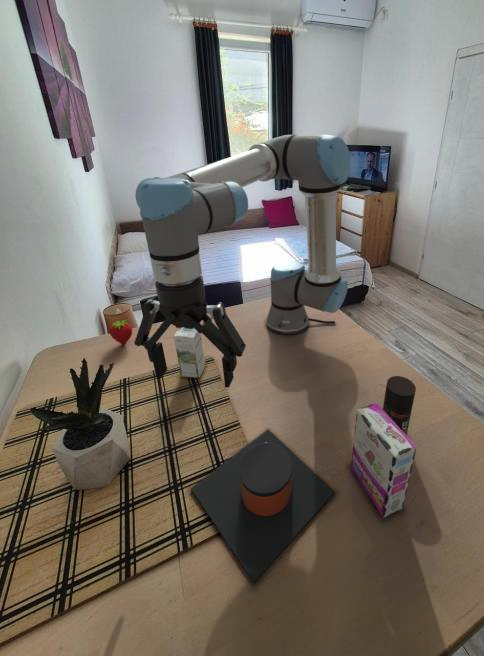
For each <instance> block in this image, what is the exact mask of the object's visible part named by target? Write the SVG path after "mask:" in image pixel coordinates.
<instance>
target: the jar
mask: <svg viewBox="0 0 484 656" xmlns="http://www.w3.org/2000/svg"><path fill="white" fill-rule="evenodd" d="M239 475H240V487H241V496H242V500H243V502H244V504H245V506H246V507H247V508H248V509H249V510H250V511H251V512H253V513H254V514H257V515H260V516H270V515H274V514H276V513H278V512H280V511H281V510H282V509H283V508H284V507H285V506H286V505H287V504H288V502H289V500H290V497H291V494H292V461H291V458H290V456H289V454H288V453H287V451H286V450H285V449H284V448H282V447H281V446H279V445H276V444H273V443H262V444H258V445H255V446H253V447H252V448H250V449H249V450H248V451H247V452H246V453H245V454H244V456H243V457H242V459H241V462H240V466H239Z"/></svg>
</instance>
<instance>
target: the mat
mask: <svg viewBox="0 0 484 656" xmlns="http://www.w3.org/2000/svg"><path fill="white" fill-rule="evenodd" d="M262 443H273V444H276V445H279V446H281V447H282V448H284V449H285V450H286V451H287V453H288V454H289V456H290V458H291V461H292V494H291V497H290V500H289V502H288V504H287V505H286V506H285V507H284V508H283V509H282V510H281V511H280V512H278V513H276V514H274V515H270V516H260V515H257V514H254V513H253V512H251V511H250V510H249V509H248V508H247V507H246V506H245V504H244V502H243V500H242V496H241V487H240V475H239V466H240V462H241V459H242V457H243V456H244V454H245V453H246V452H247V451H248V450H249V449H250V448H252V447H253V446H255V445H258V444H262ZM190 491H191V492H192V494H193V495H194V497H195V498H196V500H197V501H198V503H199V504H200V506H201V508H203V510H204V512H205V513H206V515H207V516H208V518H209V519H210V521H211V522H212V524H213V525H214V527H215V528H216V529H217V531H218V532H219V534H220V536H221V537H222V538H223V540H224V541H225V543H226V545H227V546H228V547H229V549H230V551H231V552H232V554H233V555H234V556H235V558H236V560H237V561H238V563H239V564H240V565H241V567H242V568H243V570H244V571H245V573H246V574H247V576H248V577H249V579H250V580H251V582H252V583H253V584H254V585H255V584H256V583H257V582H258V580H259V579H260V578H261V577H262V576H263V575H264V574H265V573H266V571H267V570H268V569H269V568H270V567H271V566H272V565H273V564H274V562H275V561H276V560H277V559H278V558H279V557H280V556H281V555H282V553H283V552H284V551H285V550H286V549H287V548H288V547H289V545H291V544H292V542H293V541H294V540H295V539H296V538H297V536H298V535H299V534H301V532H302V531H303V530H304V529H305V528H306V527H307V526H308V524H309V523H310V522H311V521H312V520H313V519H314V518H315V516H316V515H317V514H318V513H319V512H320V511H321V510H322V509H323V507H325V505H326V504H327V503H328V502H329V500H330V499H332V497H333V496H334V495H335V494H336V493H335V490H334V489H333V488H332V487H330V486H329V485H328V483H326V482H325V481H324V480H323V479H322V478H321V477H320V476H318V474H317V473H315V471H313V469H311V468H310V467H309V466H308V465H307V464H306V463H305V462H304V461H303V460H301V458H299V457H298V455H297V454H295V453H294V452H293V450H291V449H290V448H289V447H288V446H286V444H285V443H283V442H282V441H281V440H280V439H279V438H278V437H277V436H276V435H275V434H274V433H273V432H272V431H271V430H270V429H266V430H265V431H264V432H263V433H261V434H260V435H259V436H257V437H256V438H254V439H253V440H252V441H251V442H250V443H248V444H247V445H246V446H244V447H243V448H242V449H240V450H239V451H238V452H237V453H235V454H234V455H233V456H231V457H229V458H228V459H227V460H226V461H225V462H223V463H222V464H221V465H219V466H218V467H217V468H215V469H214V470H213V471H212V472H211V473H209V474H208V475H207V476H205V477H204V478H203V479H201V480H200V481H198V482H197V483H196V484H194V485H193V486H192V487H191V488H190Z"/></svg>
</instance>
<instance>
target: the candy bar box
mask: <svg viewBox="0 0 484 656" xmlns="http://www.w3.org/2000/svg"><path fill="white" fill-rule="evenodd" d="M416 451H417V446H416V444H415V443H414V442H413V441H412V440H411V439H410V437H408V435H407V436H406V435H405V434H404V433H403V431H402V430H401V429H400V428H399V427H398V426H397V425H396V424H395V422H394V421H393V420H392V419H391V418H390V417H389V416H388V415H387V414H386V412H385V411H384V410H383V407H381V406H380V404H378V402H374V403H371V404H368V405H367V406H363V407H360V408H357V409H356V417H355V424H354V433H353V441H352V450H351V458H350V469H351V470H352V472H353V474H354V475H355V477H356V478H357V479H358V480H357V481H359V483H360V484H361V486H362V488H363V489H364V491H365V493H366V494H367V495H368V497H369V499H370V500H371V502H372V503H373V505H374V506H375V508H376V510H377V511H378V513H379V514H380V516H381V518H382V519H385V518H387V517H389V516H390V515H392V514H395V513H397V512H399V511H400V510H403V509H404V505H405V501H406V496H407V492H408V487H409V482H410V478H411V474H412V469H413V464H414V461H415V456H416Z"/></svg>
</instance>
